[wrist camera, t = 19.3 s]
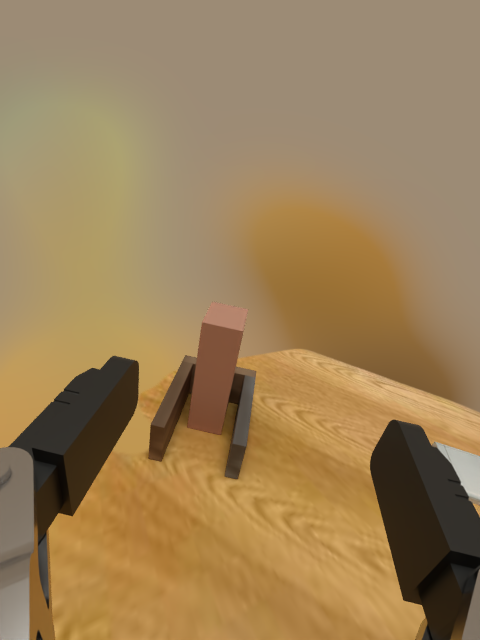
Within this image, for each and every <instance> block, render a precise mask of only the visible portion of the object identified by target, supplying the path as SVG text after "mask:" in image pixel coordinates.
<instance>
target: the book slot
mask: <svg viewBox="0 0 480 640" xmlns="http://www.w3.org/2000/svg"><path fill="white" fill-rule="evenodd" d="M196 362H197V358H196V357H191V356H187V355H186V356H185V357H184V359H183V361H182V363H181V365H180V367H179V369H178V371H177V373H176V375H175V377H174V379H173V381H172V383H171V385H170V387H169V389H168V391H167V393H166V395H165V397H164V399H163V401H162V403H161V405H160V407H159V409H158V411H157V413H156V415H155V417H154V419H153V421H152V423H151V430H150V445H149V459H153V460H157V461H162V458H163V456H164V453H165V451H166V448H167V446H168V444H169V441H170V439H171V436H172V434H173V431H174V429H175V426H176V424H177V421H178V419H179V416H180V414H181V411H182V409H183V407H184V404H185V402H186V399H187V397H188V394H189V393H191V394H192V390H193V383H194V376H195V369H196ZM255 377H256V371H254V370H249V369H245V368H240V367H236V368H235V373H234V377H233V382H232V387H231V391H230V396H229V401H228V402H231V403H235V404H238V408H237V413H236V418H235V424H234V429H233V434H232V440H231V445H230V450H229V456H228V461H227V466H226V472H225V476H226V477H230V478H234V479H238V475H239V472H240V468H241V464H242V461H243V457H244V454H245V450H246V446H247V438H248V431H249V423H250V415H251V408H252V400H253V393H254V385H255Z"/></svg>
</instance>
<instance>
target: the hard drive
mask: <svg viewBox="0 0 480 640" xmlns="http://www.w3.org/2000/svg"><path fill="white" fill-rule="evenodd" d="M432 446H433V447H437V448H438V449H439V450H440V452H441V453H442V454H443V455H444V456H445V457H446V458H447V459H448V460H449V462H450V463H451V464H452V466H453V467H454V469H455V471H456V473H457V475H458V477H459V479H460V481H461V485H462V486H463V487H464V488H465V490H466V492H467V494H468V496H469V501H471V502H472V503H474V504H477V505H480V456H478V455H475V454H471V453H469V452H465V451H462V450H459V449H456V448H453V447H450V446H447V445H444V444H441V443H437V442H434V443H433V444H432Z"/></svg>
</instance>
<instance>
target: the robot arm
mask: <svg viewBox="0 0 480 640" xmlns="http://www.w3.org/2000/svg"><path fill="white" fill-rule="evenodd" d="M138 382H139V364H138V362H137V361H135V360H130V359H126V358H122V357H117V356H113V357H111V358H110V359H109V360H108V361H107V362H106V364H105V365H104V366H103V367H102V368H101V369H100V370H99V369H95V368H91V369H89V370H87V371H86V372H84V373H82V374H80V375H78V376H76V377H75V378H74V379H73V380H72V381H71V382H70V383H69V384H68V385H67V387H66V388H65V389H64V391H63V392H61V393H60V394H59V395H58V396H57V397H56V398H55V399H54V402H51V403H50V405H48V406H47V407H46V409H45V410H44V411H43V412H42V413H41V414H40V415H39V416H38V417H37V418H36V419H35V420H34V421H33V422H32V423H31V424H30V425H29V426H28V427H27V428H26V429H25V430H24V431H23V433H21V434H20V436H19V437H18V438H17V439H16V440H15V441H14V442H13V443H12V444H11V445H10V446H9V447H6V448H0V640H55V632H54V625H53V615H52V597H51V575H50V553H49V531H48V528H49V527H50V525H51V524H52V522H53V520H54V519H55V517H56V516H57V514H58V513H61V514H65V515H69V516H73V515H74V513H75V511H76V510H77V508H78V506H79V505H80V503H81V501H82V500H83V498H84V496H85V495H86V493H87V491H88V490H89V488H90V486H91V485H92V483H93V481H94V480H95V478H96V476H97V475H98V473H99V471H100V470H101V468H102V466H103V465H104V463H105V461H106V460H107V458H108V456H109V455H110V453H111V451H112V450H113V448H114V446H115V445H116V443H117V441H118V439H119V438H120V436H121V435H122V433H123V431H124V430H125V428H126V426H127V425H128V423H129V421H130V420H131V418H132V416H133V414H134V411H135V409H136V406H137V402H138ZM370 470H371V475H372V479H373V483H374V487H375V491H376V495H377V499H378V503H379V507H380V511H381V515H382V518H383V522H384V526H385V530H386V534H387V538H388V542H389V546H390V550H391V554H392V558H393V561H394V565H395V569H396V573H397V577H398V581H399V585H400V589H401V593H402V597H403V600H404V601H408V602H412V603H416V604H420V605H422V606H423V609H424V613H425V616H426V618H425V619H424V620H423V621H422V623H421V625H420V627H419V630H418V633H417V636H416V639H415V640H480V517H479V515H478V513H477V511H476V509H475V508H474V506H473V504H472V502H471V501H469V496H468V494H467V492H466V490H465V488H464V487H463V486H462V485H461V481H460V479H459V477H458V475H457V473H456V471H455V469H454V467H453V466H452V464H451V463H450V462H449V460H448V459H447V458H446V457H445V456H444V455H443V454H442V453H441V452H440V450H439V449H438V448H437V447H433V446H431V444H430V442H429V440H428V438H427V436H426V434H425V432H424V430H423V428H422V427H421V426H419V425H415V424H411V423H406V422H402V421H398V420H392V421H390V422H389V424H388V425H387V427H386V429H385V431H384V433H383V434H382V436H381V438H380V440H379V442H378V443H377V445H376V447H375V449H374V451H373V453H372V456H371V461H370Z"/></svg>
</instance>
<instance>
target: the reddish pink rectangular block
mask: <svg viewBox="0 0 480 640" xmlns="http://www.w3.org/2000/svg"><path fill="white" fill-rule="evenodd" d="M247 312H248V309H244V308H239V307H235V306H230V305H225V304H221V303H216V302H212V303H211V305H210V307H209V309H208V311H207V313H206V316H205V317H204V319H203V321H202V327H201V333H200V341H199V348H198V355H197V362H196V369H195V376H194V383H193V390H192V397H191V404H190V412H189V419H188V426H187V427H188V428H192V429H196V430H201V431H205V432H209V433H214V434H218V435H221V432H222V427H223V423H224V419H225V414H226V410H227V405H228V401H229V396H230V391H231V387H232V382H233V377H234V373H235V368H236V363H237V359H238V354H239V350H240V345H241V340H242V336H243V331H244V326H245V321H246V317H247Z"/></svg>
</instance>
